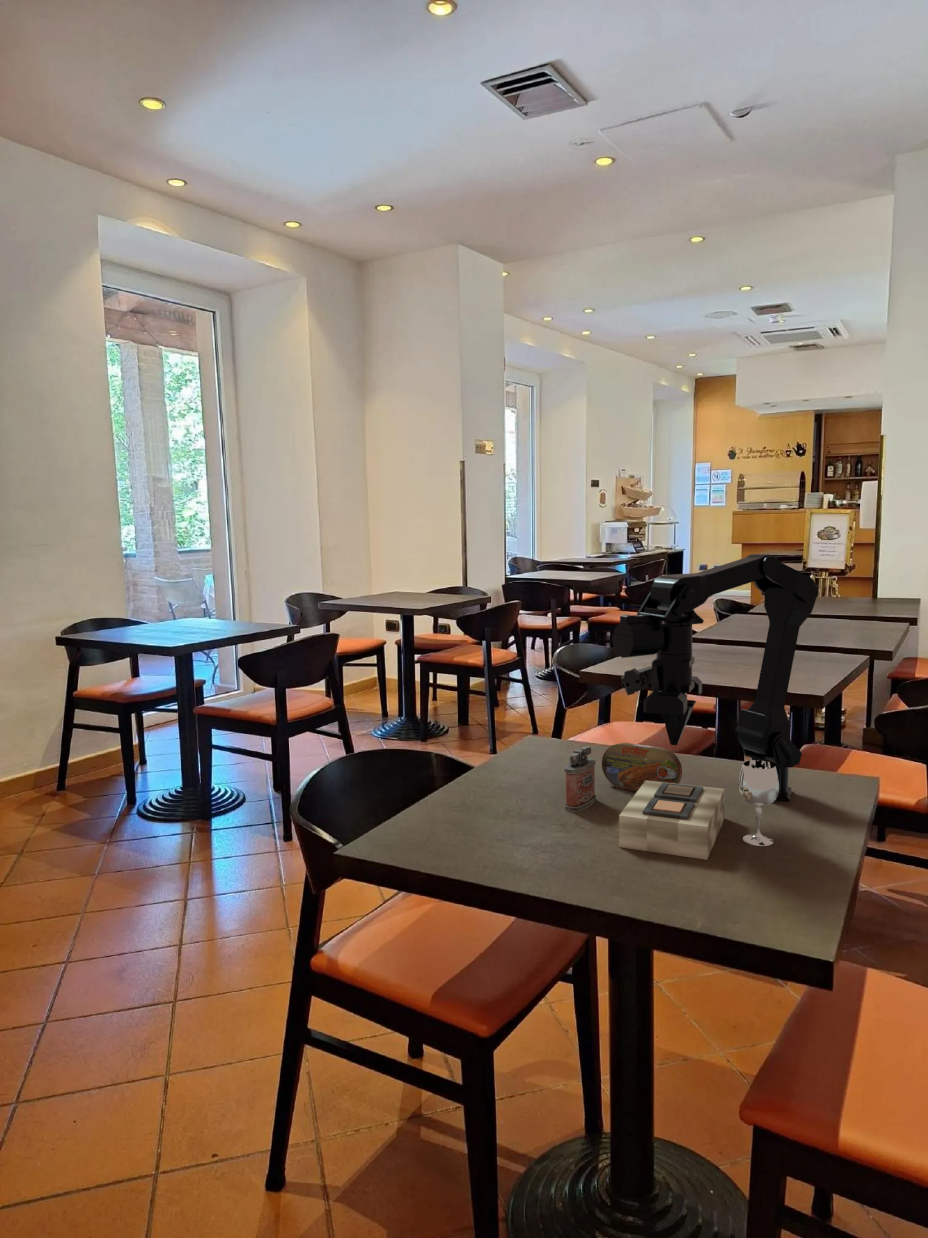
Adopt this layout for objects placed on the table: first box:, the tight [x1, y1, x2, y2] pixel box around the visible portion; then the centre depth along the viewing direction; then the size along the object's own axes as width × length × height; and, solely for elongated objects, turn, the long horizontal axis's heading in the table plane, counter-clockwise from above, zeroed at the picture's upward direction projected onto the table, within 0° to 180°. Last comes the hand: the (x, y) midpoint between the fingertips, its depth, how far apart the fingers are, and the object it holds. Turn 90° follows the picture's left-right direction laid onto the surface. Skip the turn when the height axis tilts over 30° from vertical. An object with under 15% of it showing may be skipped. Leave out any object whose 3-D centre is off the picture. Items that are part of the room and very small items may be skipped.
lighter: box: [564, 745, 597, 813], centre depth 142 cm, size 8×3×10 cm, turn 143°
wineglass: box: [738, 759, 779, 847], centre depth 124 cm, size 6×6×12 cm
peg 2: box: [653, 800, 685, 814], centre depth 125 cm, size 4×4×5 cm
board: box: [618, 780, 726, 861], centre depth 129 cm, size 18×13×6 cm
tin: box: [601, 742, 683, 792], centre depth 150 cm, size 15×3×8 cm, turn 54°
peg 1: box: [664, 785, 694, 797], centre depth 132 cm, size 4×4×5 cm
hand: (674, 744), depth 135 cm, fingers closed
